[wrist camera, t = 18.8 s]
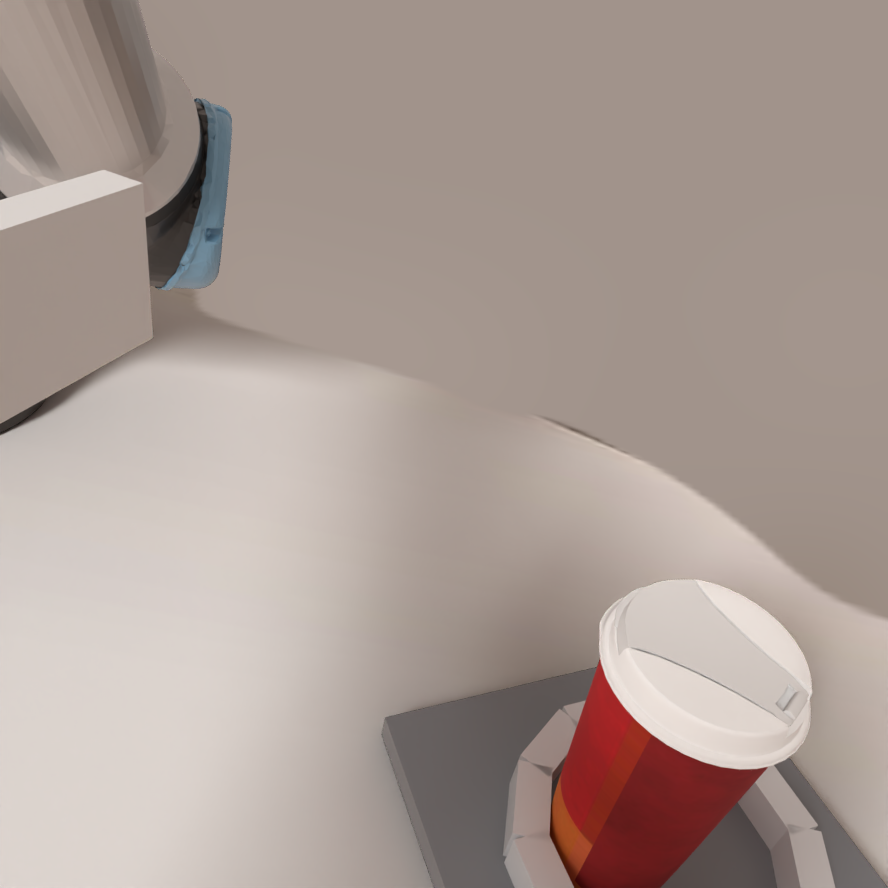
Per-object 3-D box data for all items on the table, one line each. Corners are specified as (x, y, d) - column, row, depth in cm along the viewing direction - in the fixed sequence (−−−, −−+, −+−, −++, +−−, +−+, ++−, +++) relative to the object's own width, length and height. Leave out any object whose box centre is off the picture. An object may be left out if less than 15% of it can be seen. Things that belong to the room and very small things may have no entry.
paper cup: (716, 848, 36) (857, 657, 28) (632, 980, 31) (775, 794, 23) (580, 735, 40) (670, 538, 32) (486, 837, 35) (564, 633, 27)
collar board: (381, 734, 40) (389, 693, 38) (692, 658, 47) (713, 620, 45) (563, 1264, 25) (592, 1244, 23) (967, 1032, 33) (1016, 1001, 31)
